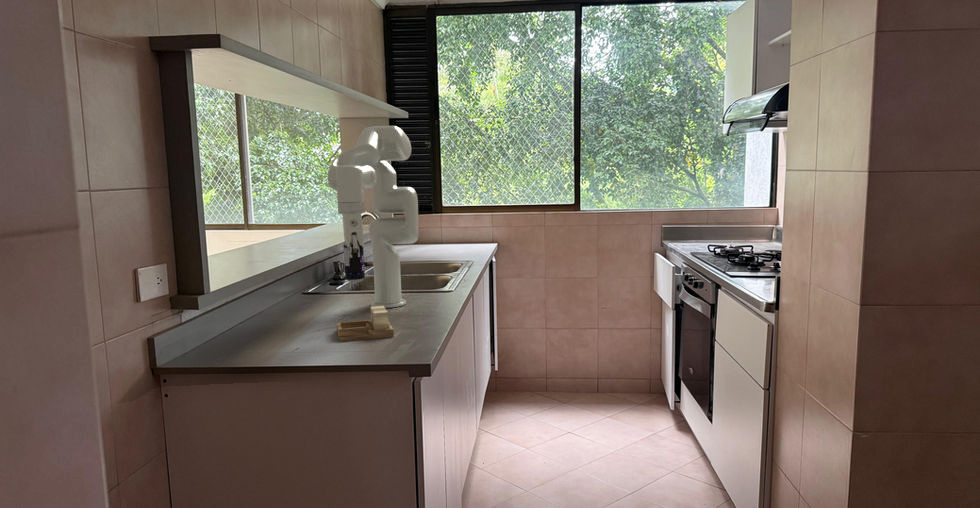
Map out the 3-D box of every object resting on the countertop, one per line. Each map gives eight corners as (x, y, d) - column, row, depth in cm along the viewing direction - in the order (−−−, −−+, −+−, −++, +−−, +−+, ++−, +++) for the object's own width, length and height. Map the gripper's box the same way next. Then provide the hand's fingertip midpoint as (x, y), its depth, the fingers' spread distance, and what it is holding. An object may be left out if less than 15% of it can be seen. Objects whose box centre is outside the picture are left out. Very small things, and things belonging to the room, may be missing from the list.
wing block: (371, 325, 199) (370, 306, 199) (384, 324, 200) (383, 305, 200) (375, 333, 190) (373, 313, 189) (388, 332, 191) (387, 312, 190)
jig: (336, 330, 199) (336, 321, 198) (387, 326, 203) (387, 316, 202) (339, 341, 185) (338, 331, 185) (393, 336, 189) (393, 326, 189)
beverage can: (360, 282, 188) (358, 241, 187) (342, 282, 189) (340, 241, 188) (367, 279, 194) (365, 239, 192) (350, 279, 195) (347, 239, 193)
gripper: (367, 209, 182) (370, 272, 184) (361, 206, 198) (364, 265, 200) (340, 210, 180) (343, 274, 182) (336, 207, 196) (339, 266, 198)
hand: (354, 269), depth 191 cm, fingers closed on beverage can, 5 cm apart
